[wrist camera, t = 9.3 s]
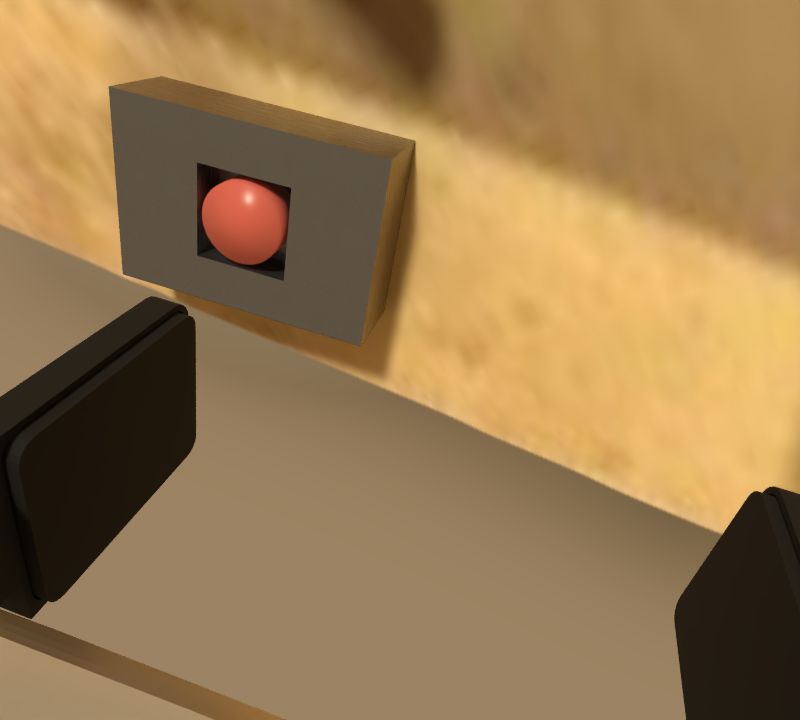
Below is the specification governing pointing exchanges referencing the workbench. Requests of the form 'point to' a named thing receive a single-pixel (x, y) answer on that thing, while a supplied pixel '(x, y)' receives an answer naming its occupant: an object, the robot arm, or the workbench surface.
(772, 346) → the workbench surface
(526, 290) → the workbench surface
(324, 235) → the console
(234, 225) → the button
